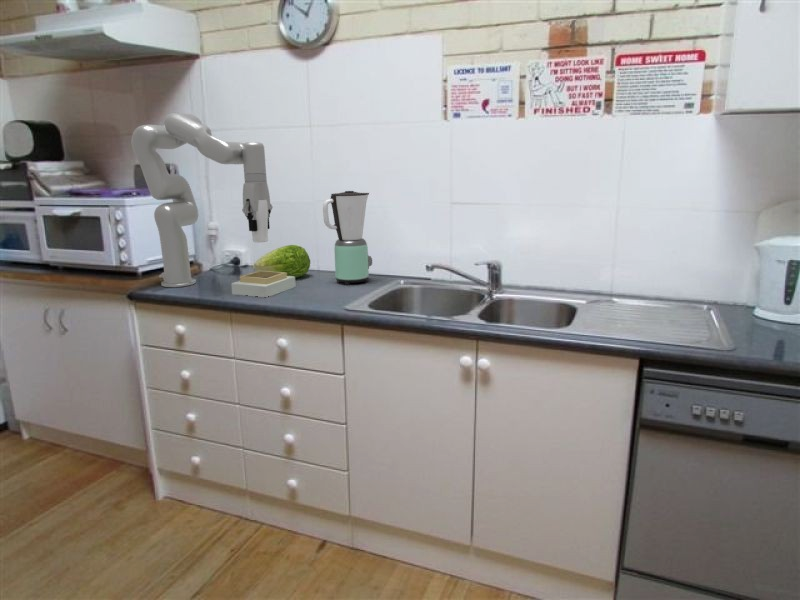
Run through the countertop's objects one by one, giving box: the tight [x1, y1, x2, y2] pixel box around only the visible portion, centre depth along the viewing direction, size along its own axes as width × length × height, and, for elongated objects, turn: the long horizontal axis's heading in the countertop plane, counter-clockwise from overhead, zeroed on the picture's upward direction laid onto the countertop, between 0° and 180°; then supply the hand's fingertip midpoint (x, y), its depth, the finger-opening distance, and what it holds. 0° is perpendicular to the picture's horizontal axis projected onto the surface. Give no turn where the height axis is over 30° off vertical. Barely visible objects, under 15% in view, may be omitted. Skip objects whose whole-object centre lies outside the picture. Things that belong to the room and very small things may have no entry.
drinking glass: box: [250, 199, 269, 244], centre depth 192 cm, size 7×7×15 cm
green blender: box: [322, 190, 373, 286], centre depth 206 cm, size 19×13×35 cm
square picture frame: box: [230, 271, 297, 298], centre depth 198 cm, size 15×19×6 cm
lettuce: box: [252, 244, 311, 279], centre depth 220 cm, size 15×24×14 cm, turn 72°
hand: (259, 229), depth 193 cm, fingers closed on drinking glass, 6 cm apart
